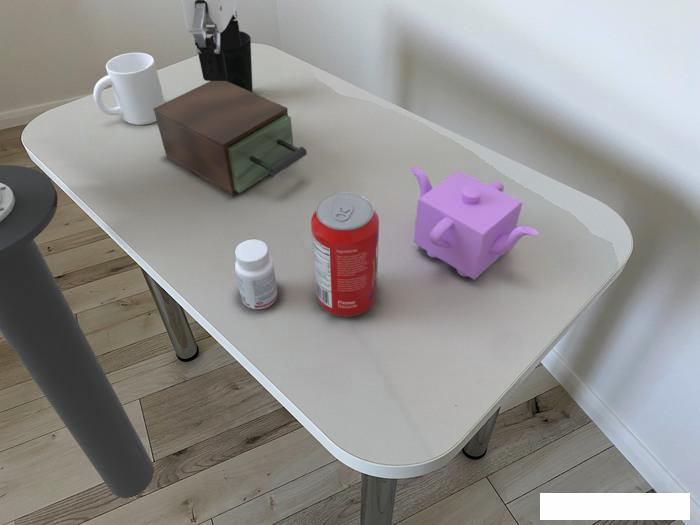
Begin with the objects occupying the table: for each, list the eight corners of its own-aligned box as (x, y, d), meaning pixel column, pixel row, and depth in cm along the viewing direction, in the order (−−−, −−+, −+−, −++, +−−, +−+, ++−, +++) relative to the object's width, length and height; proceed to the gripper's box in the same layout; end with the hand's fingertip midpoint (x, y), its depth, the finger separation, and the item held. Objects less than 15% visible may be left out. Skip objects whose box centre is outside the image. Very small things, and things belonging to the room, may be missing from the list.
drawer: (319, 170, 94) (317, 129, 89) (265, 207, 87) (259, 165, 82) (232, 127, 104) (225, 87, 98) (177, 157, 97) (166, 116, 92)
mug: (110, 137, 103) (92, 84, 96) (96, 117, 108) (78, 65, 101) (173, 117, 108) (160, 65, 101) (158, 99, 113) (144, 48, 106)
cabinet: (292, 158, 98) (287, 107, 91) (232, 196, 91) (222, 144, 84) (226, 126, 106) (218, 77, 99) (167, 158, 98) (153, 108, 92)
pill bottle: (282, 286, 77) (276, 240, 71) (271, 313, 74) (263, 266, 68) (248, 281, 78) (240, 234, 72) (236, 307, 74) (225, 260, 68)
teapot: (509, 222, 86) (523, 161, 78) (523, 288, 76) (541, 226, 69) (406, 219, 86) (411, 159, 79) (407, 284, 77) (413, 222, 69)
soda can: (306, 311, 74) (298, 222, 63) (329, 270, 79) (325, 182, 68) (364, 328, 72) (366, 239, 61) (384, 284, 77) (388, 196, 66)
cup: (219, 110, 110) (208, 49, 101) (217, 91, 115) (207, 32, 107) (260, 106, 111) (252, 45, 102) (256, 87, 116) (248, 28, 108)
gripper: (187, -92, 75) (211, 37, 88) (146, -50, 63) (181, 93, 75) (244, -92, 75) (260, 37, 87) (214, -50, 63) (237, 94, 75)
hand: (223, 63), depth 81 cm, fingers open, 9 cm apart
